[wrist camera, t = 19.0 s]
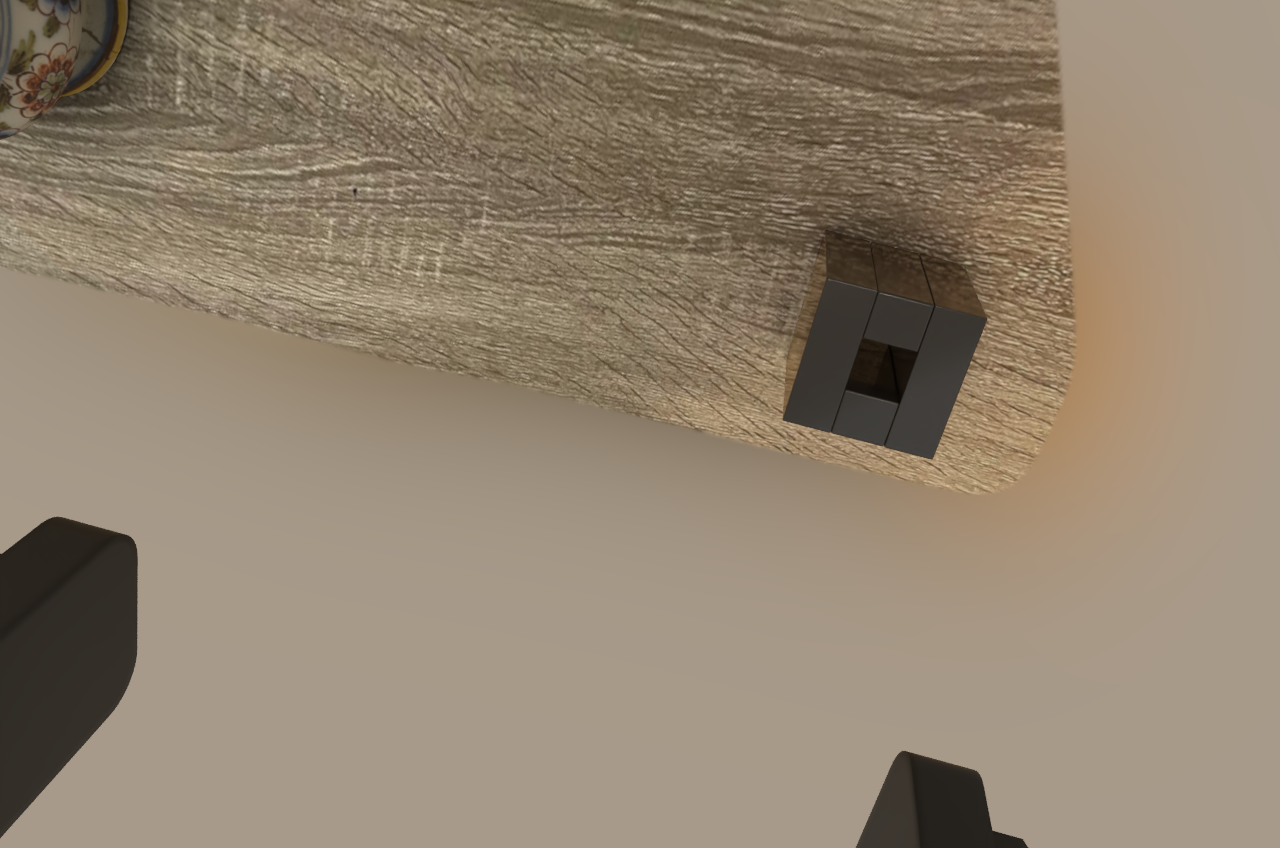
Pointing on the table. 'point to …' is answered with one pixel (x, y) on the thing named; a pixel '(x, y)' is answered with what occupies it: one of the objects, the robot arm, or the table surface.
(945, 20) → the table surface
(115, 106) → the table surface
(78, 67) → the apothecary jar
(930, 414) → the holder
